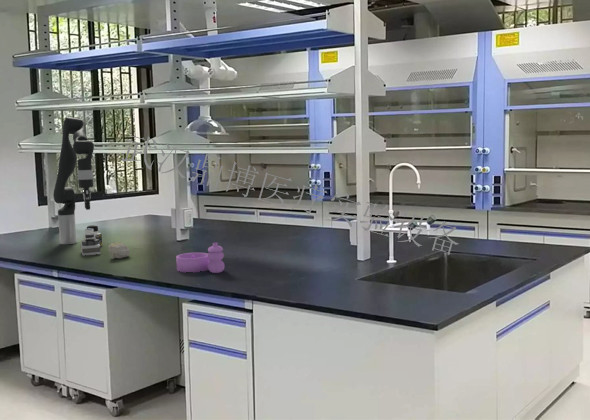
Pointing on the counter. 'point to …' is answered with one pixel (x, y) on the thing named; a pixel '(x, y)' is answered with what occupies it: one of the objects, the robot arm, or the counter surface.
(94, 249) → the octagon ring plate
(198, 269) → the container set
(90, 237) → the lens
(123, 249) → the fossil replica
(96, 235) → the medicine bottle
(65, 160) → the robot arm
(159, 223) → the counter surface
